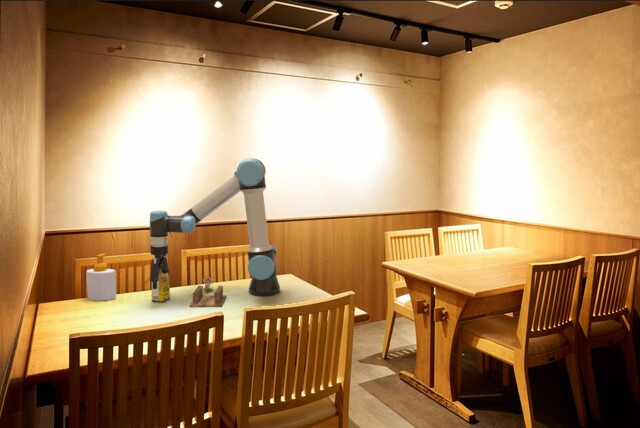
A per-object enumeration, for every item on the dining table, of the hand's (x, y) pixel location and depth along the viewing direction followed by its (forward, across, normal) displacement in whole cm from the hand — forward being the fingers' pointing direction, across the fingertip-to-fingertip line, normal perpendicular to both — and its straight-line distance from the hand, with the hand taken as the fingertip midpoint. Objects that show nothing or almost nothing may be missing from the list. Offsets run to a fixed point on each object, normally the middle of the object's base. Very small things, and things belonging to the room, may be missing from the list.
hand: (160, 291), depth 213 cm
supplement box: (+4, 0, 0) cm, 5 cm away
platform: (+5, -17, +18) cm, 25 cm away
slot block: (+4, +3, +22) cm, 23 cm away
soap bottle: (+5, -4, -28) cm, 28 cm away
